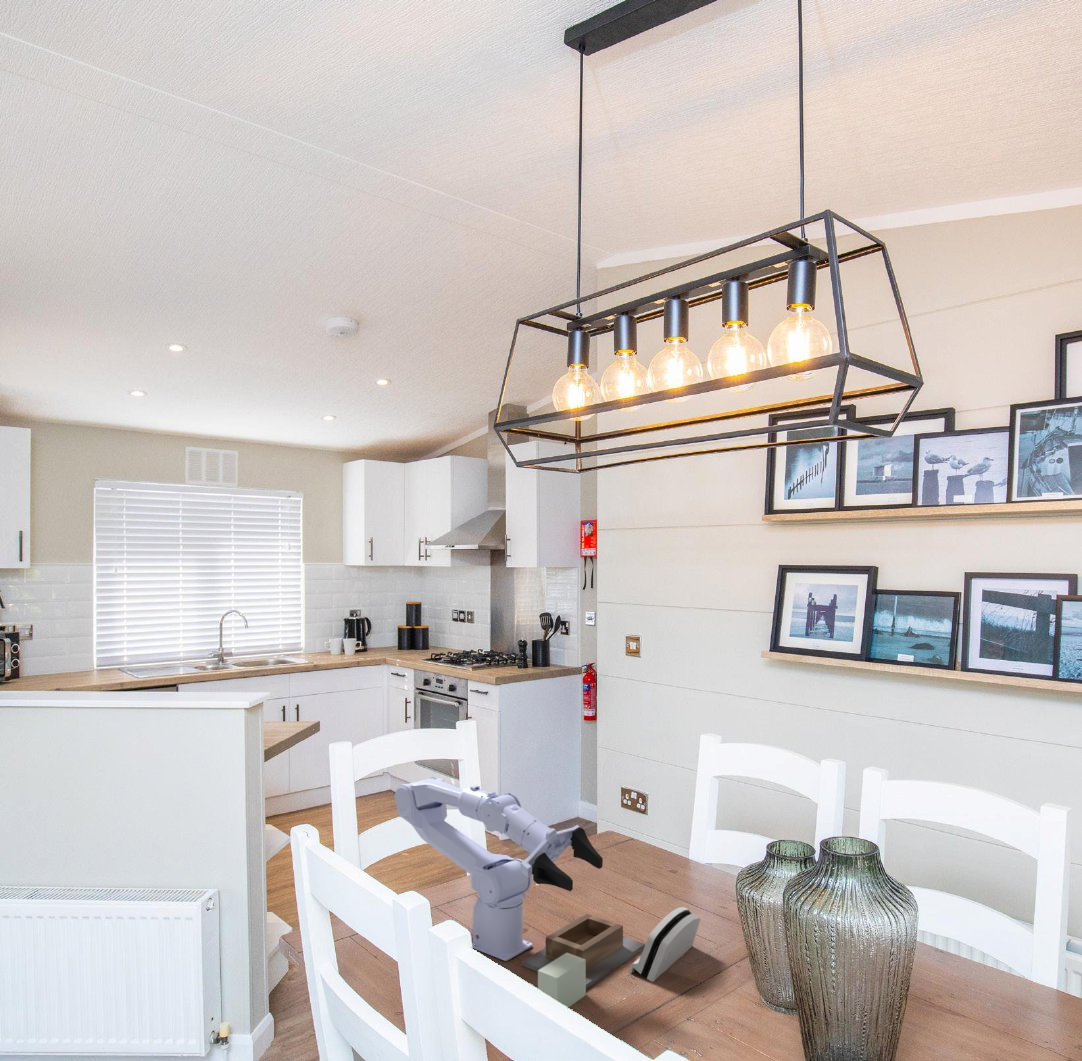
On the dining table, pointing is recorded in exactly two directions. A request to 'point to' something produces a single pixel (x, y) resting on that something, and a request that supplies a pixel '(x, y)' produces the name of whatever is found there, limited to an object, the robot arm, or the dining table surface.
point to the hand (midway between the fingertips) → (586, 874)
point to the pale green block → (564, 979)
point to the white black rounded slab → (667, 943)
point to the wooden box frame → (588, 947)
